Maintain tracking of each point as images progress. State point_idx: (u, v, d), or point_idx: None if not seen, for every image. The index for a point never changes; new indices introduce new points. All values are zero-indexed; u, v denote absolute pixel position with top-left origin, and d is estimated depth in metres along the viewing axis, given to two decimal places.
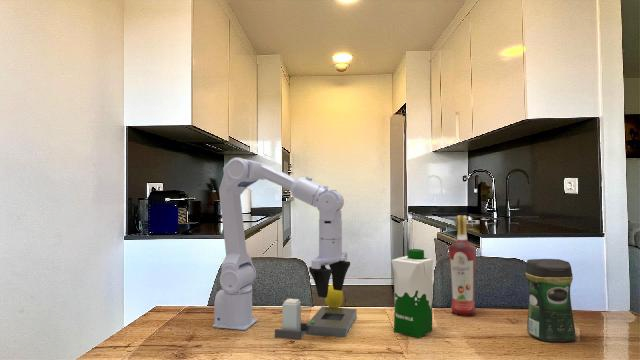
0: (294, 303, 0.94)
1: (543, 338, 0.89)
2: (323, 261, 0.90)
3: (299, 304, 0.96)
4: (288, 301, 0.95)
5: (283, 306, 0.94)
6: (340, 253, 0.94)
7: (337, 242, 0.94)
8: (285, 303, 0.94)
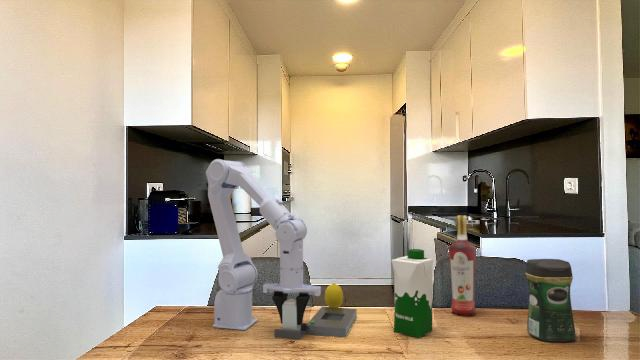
0: (294, 303, 0.94)
1: (543, 338, 0.89)
2: (269, 287, 0.96)
3: None
4: (288, 301, 0.95)
5: (283, 306, 0.94)
6: (288, 284, 0.93)
7: (284, 272, 0.93)
8: (285, 303, 0.94)
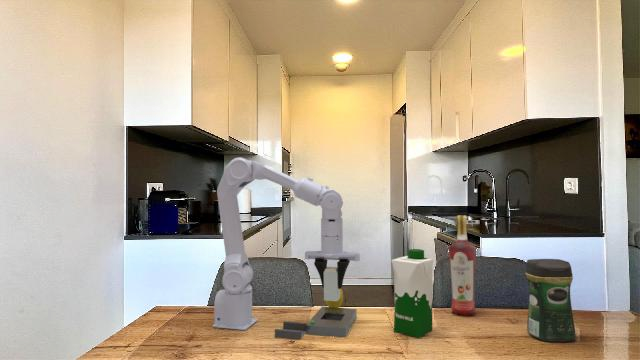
0: (335, 270, 1.00)
1: (543, 338, 0.89)
2: (310, 253, 1.02)
3: None
4: (329, 268, 1.01)
5: (324, 273, 1.00)
6: (329, 250, 0.99)
7: (325, 239, 1.00)
8: (326, 270, 1.00)
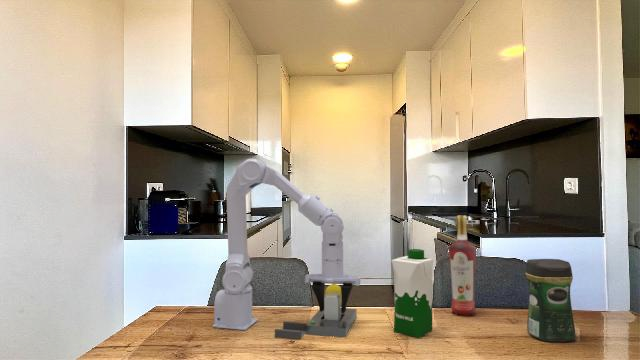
0: (335, 296, 1.00)
1: (543, 338, 0.89)
2: (311, 277, 1.02)
3: (339, 298, 1.01)
4: (329, 295, 1.01)
5: (325, 299, 1.00)
6: (330, 274, 0.99)
7: (326, 263, 0.99)
8: (327, 296, 1.00)
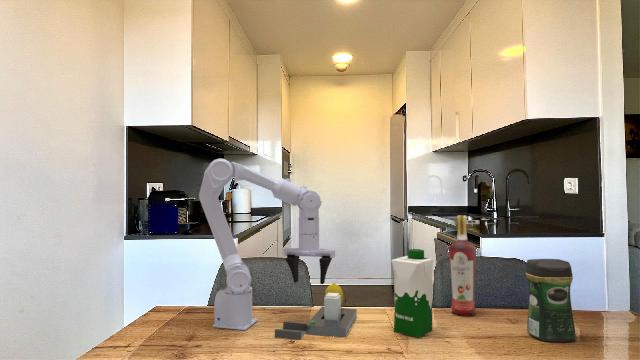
0: (335, 297, 1.00)
1: (543, 338, 0.89)
2: (288, 250, 1.07)
3: (339, 298, 1.01)
4: (329, 295, 1.01)
5: (325, 299, 1.00)
6: (306, 247, 1.04)
7: (302, 237, 1.05)
8: (327, 297, 1.00)
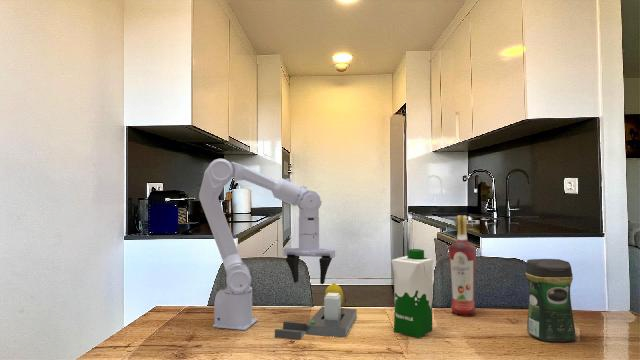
0: (335, 297, 1.00)
1: (543, 338, 0.89)
2: (288, 250, 1.07)
3: (339, 298, 1.01)
4: (329, 295, 1.01)
5: (325, 299, 1.00)
6: (306, 247, 1.04)
7: (302, 237, 1.05)
8: (327, 297, 1.00)
